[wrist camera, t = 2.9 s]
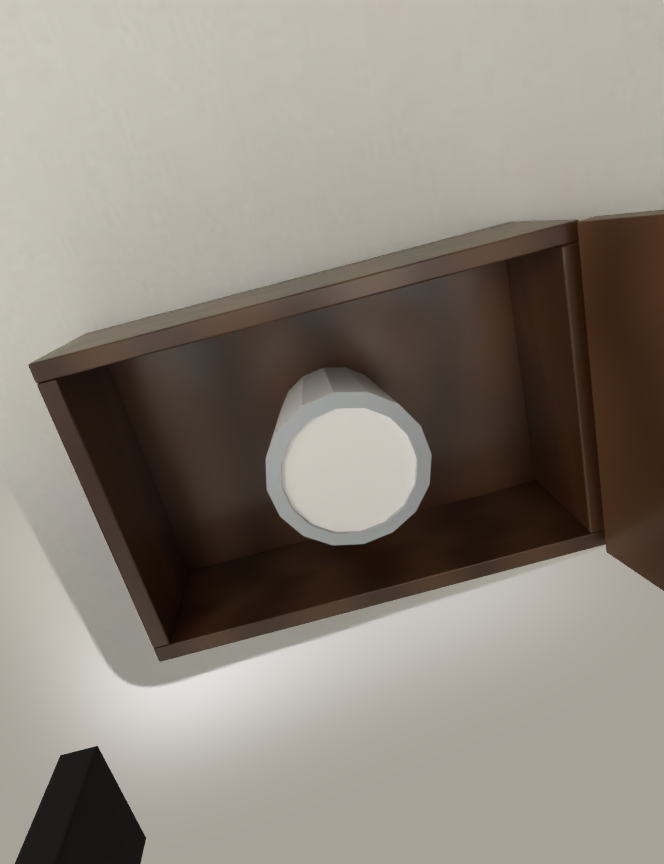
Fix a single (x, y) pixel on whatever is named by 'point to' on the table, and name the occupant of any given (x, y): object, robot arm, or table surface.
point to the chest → (392, 372)
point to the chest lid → (628, 379)
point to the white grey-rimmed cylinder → (345, 459)
